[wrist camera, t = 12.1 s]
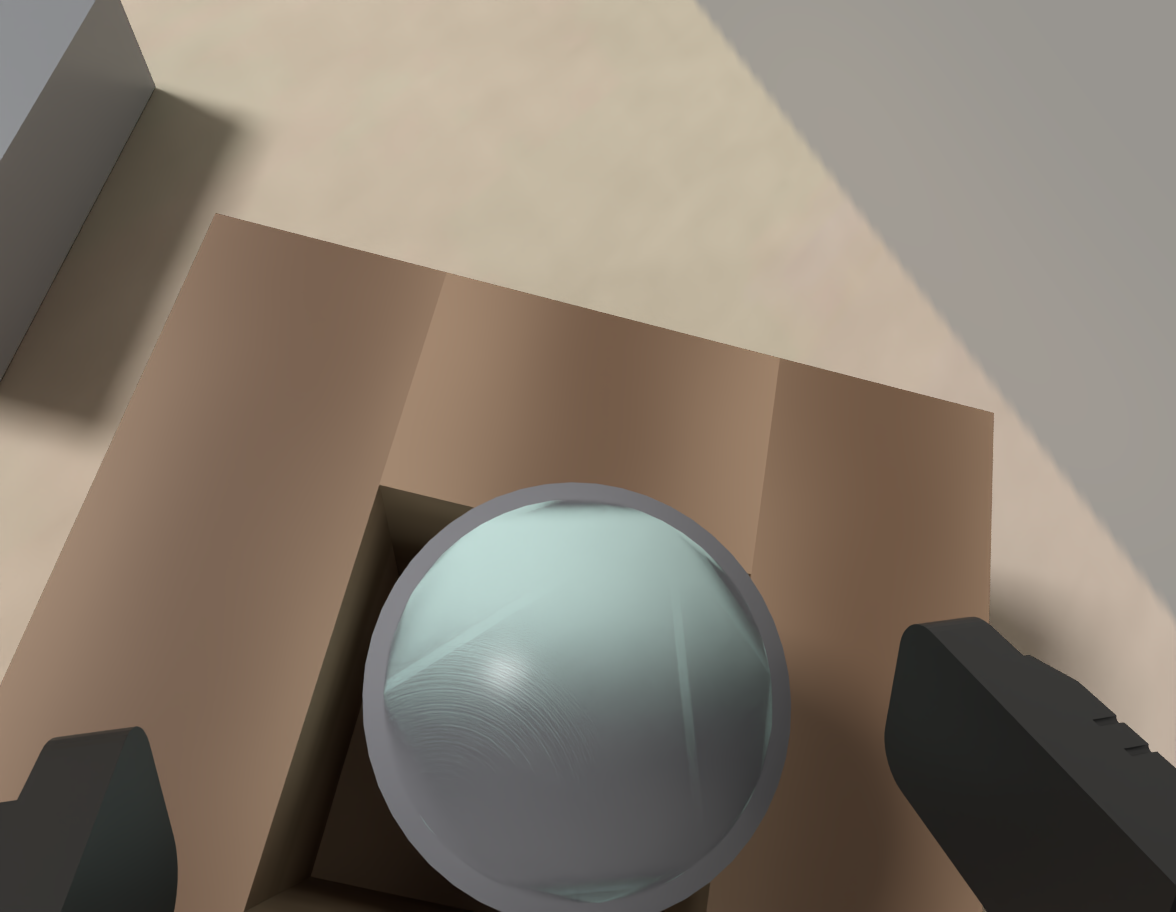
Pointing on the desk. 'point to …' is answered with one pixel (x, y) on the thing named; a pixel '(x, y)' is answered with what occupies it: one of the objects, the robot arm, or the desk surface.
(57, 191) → the grey hollow square block
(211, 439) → the port block
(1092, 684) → the desk surface
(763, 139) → the desk surface
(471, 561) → the plug
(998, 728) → the robot arm
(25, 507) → the desk surface
